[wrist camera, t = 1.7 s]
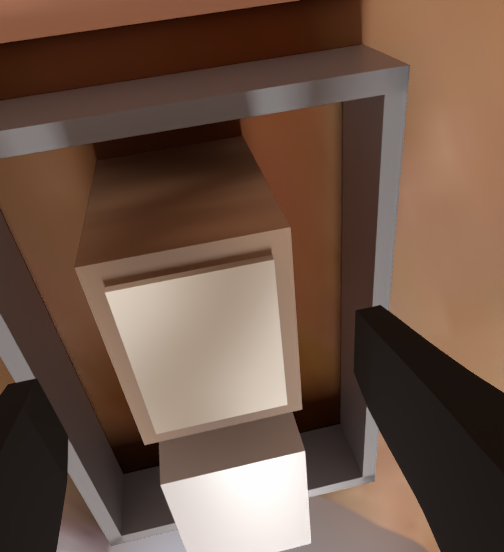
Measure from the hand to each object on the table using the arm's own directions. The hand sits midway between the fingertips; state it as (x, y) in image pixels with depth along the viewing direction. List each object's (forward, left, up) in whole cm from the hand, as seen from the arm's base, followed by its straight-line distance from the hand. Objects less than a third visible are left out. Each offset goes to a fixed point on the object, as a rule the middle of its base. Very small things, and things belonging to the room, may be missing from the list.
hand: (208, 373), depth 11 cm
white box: (0, +8, -7) cm, 10 cm away
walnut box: (0, 0, -7) cm, 7 cm away
